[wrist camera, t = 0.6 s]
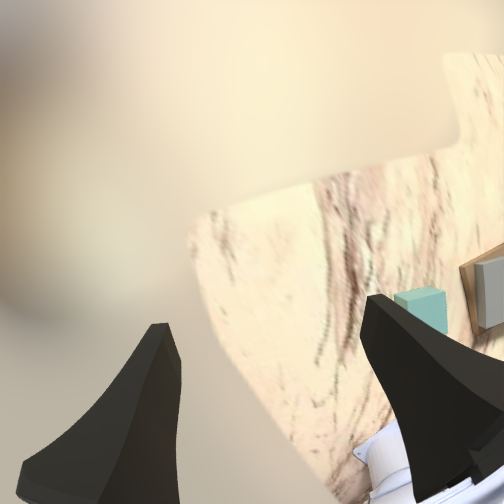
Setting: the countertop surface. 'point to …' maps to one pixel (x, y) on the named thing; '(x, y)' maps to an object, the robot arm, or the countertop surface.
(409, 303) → the teal block
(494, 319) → the grey square slab
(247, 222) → the countertop surface
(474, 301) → the walnut slab
